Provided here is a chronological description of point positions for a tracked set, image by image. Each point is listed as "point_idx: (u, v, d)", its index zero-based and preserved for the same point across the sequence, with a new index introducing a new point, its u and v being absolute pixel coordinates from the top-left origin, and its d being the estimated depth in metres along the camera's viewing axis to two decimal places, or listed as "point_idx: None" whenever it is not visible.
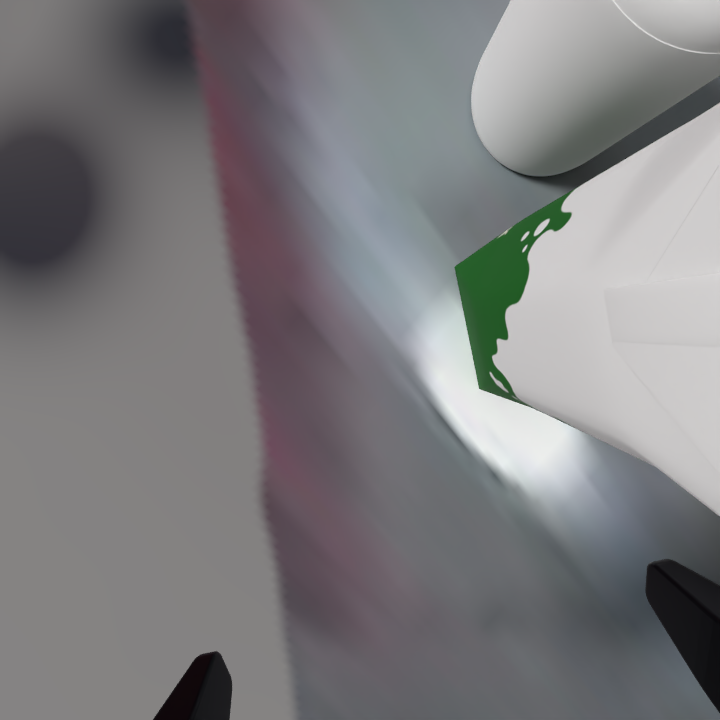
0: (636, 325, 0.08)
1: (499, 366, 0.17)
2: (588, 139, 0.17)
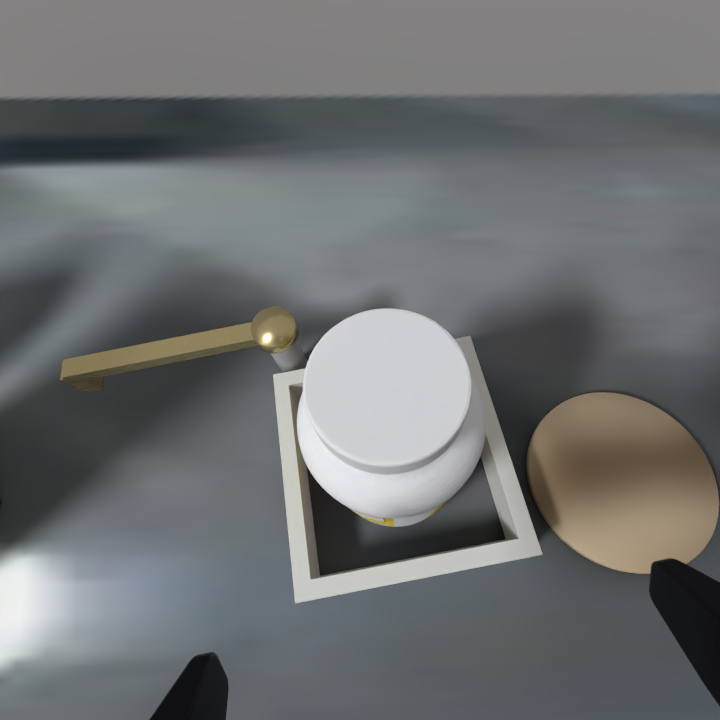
0: None
1: None
2: None
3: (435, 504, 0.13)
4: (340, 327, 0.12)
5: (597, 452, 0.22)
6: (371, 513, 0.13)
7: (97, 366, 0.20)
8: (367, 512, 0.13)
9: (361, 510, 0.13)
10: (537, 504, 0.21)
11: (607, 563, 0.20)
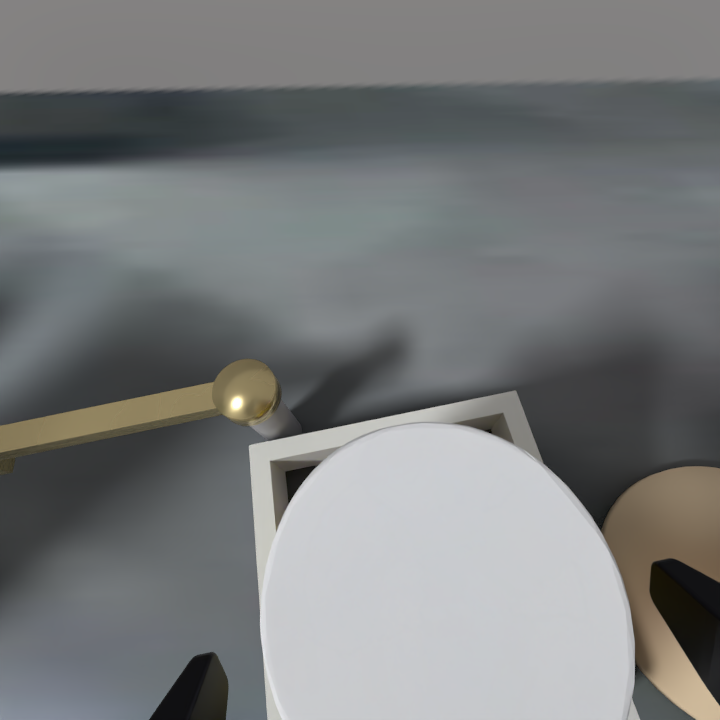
0: None
1: None
2: None
3: None
4: (339, 464, 0.06)
5: (699, 555, 0.16)
6: None
7: None
8: None
9: None
10: None
11: None
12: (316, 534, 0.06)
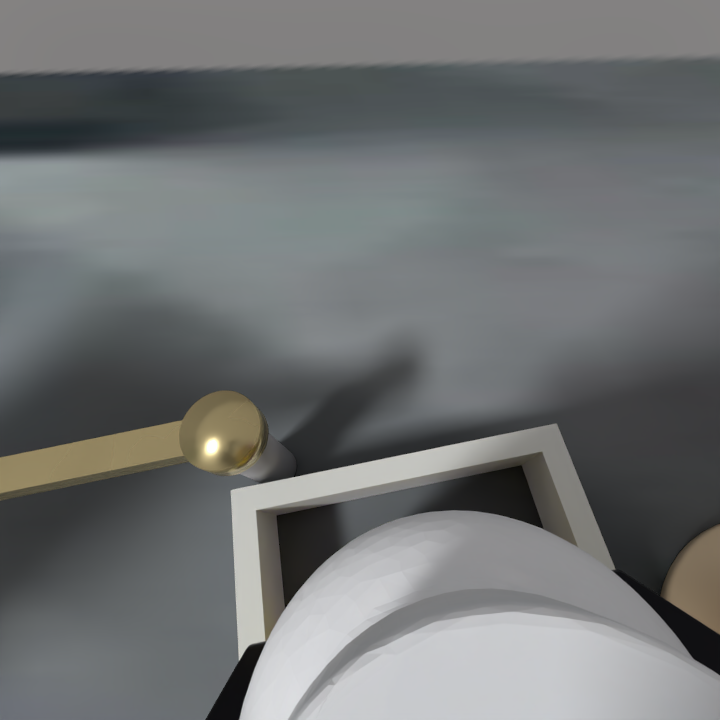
0: None
1: None
2: None
3: None
4: (348, 709, 0.03)
5: None
6: None
7: None
8: None
9: None
10: None
11: None
12: None
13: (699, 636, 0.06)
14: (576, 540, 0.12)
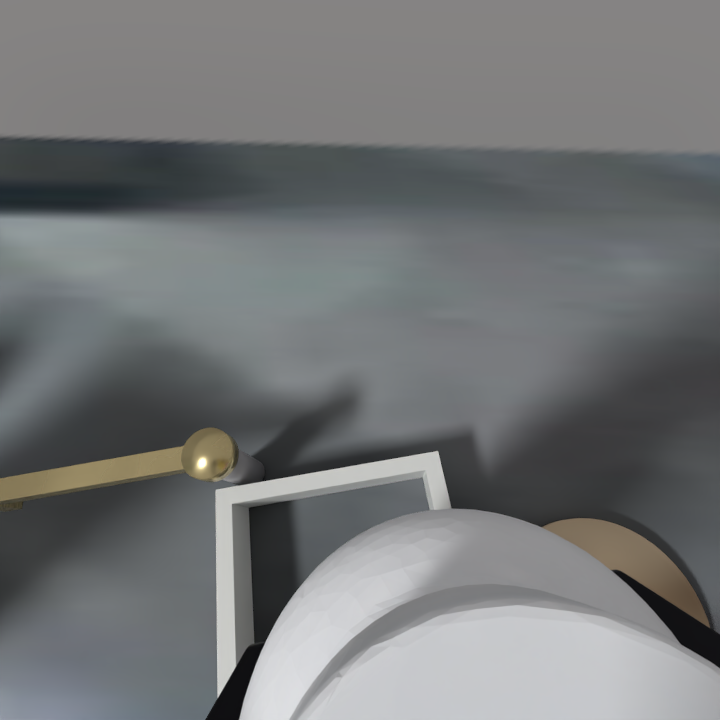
0: None
1: None
2: None
3: None
4: (356, 701, 0.03)
5: None
6: None
7: (7, 494, 0.18)
8: None
9: None
10: None
11: None
12: None
13: (699, 636, 0.06)
14: None
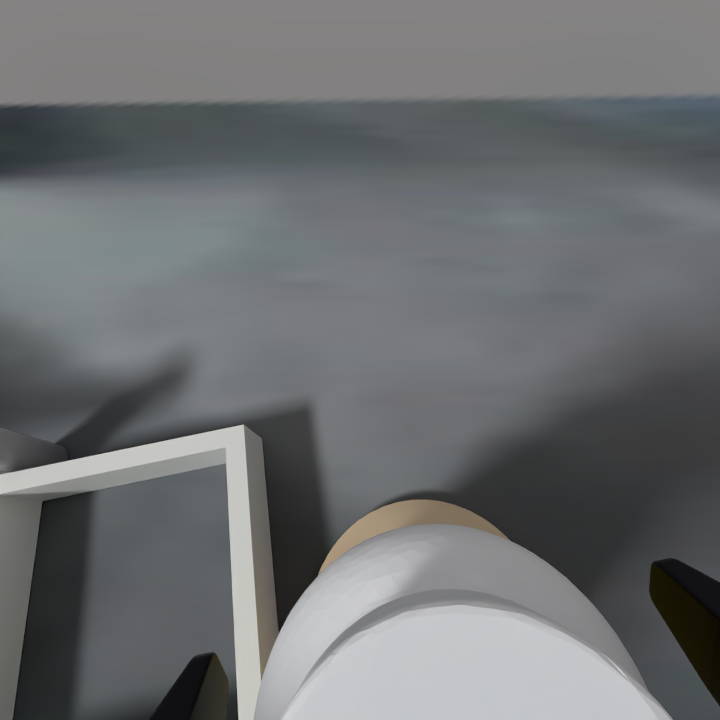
0: None
1: None
2: None
3: None
4: (345, 671, 0.04)
5: None
6: None
7: None
8: None
9: None
10: None
11: None
12: None
13: None
14: (229, 517, 0.16)
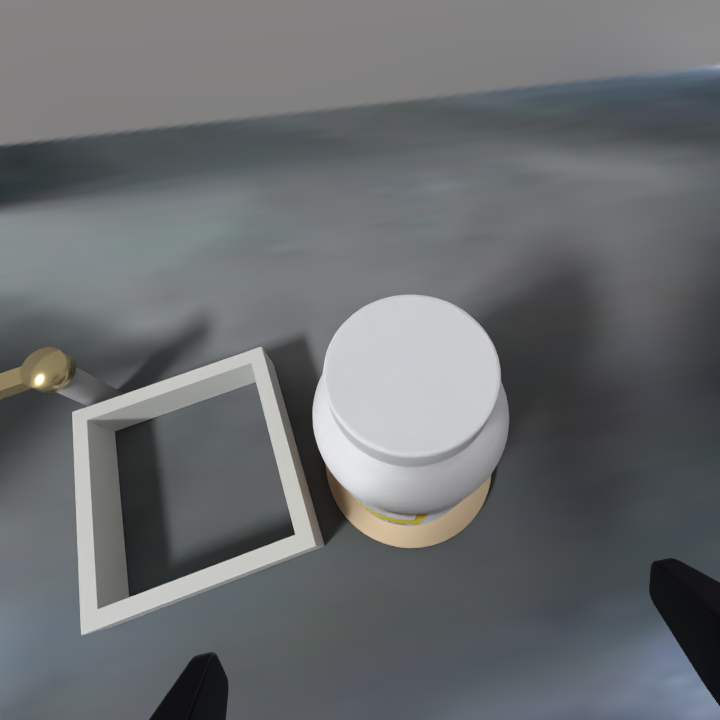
0: None
1: None
2: None
3: (472, 490, 0.13)
4: (352, 321, 0.11)
5: None
6: (408, 510, 0.12)
7: None
8: (404, 510, 0.13)
9: (397, 509, 0.13)
10: (334, 497, 0.22)
11: (391, 543, 0.21)
12: (346, 352, 0.11)
13: None
14: (262, 405, 0.22)
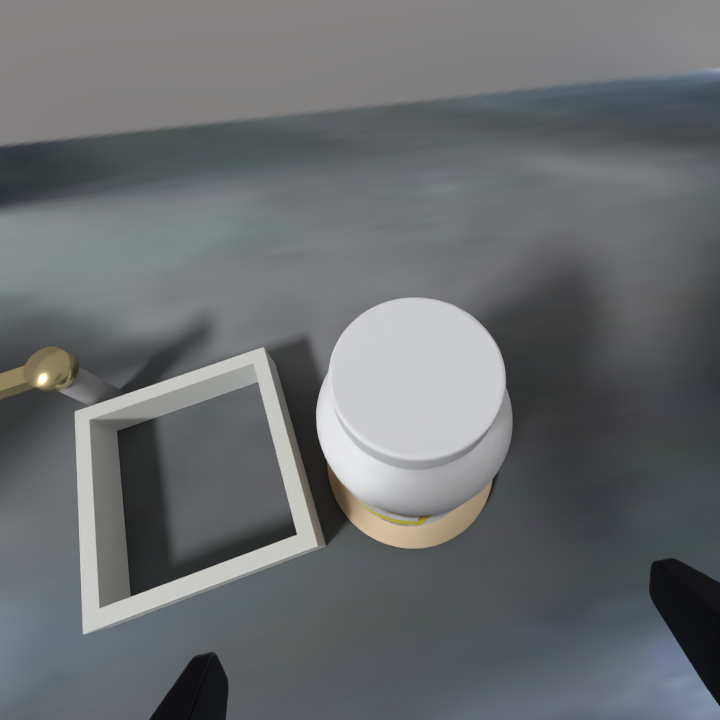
0: None
1: None
2: None
3: (476, 493, 0.13)
4: (357, 323, 0.12)
5: None
6: (412, 512, 0.13)
7: None
8: (407, 512, 0.13)
9: (401, 511, 0.13)
10: None
11: (393, 543, 0.21)
12: (351, 355, 0.11)
13: None
14: (265, 405, 0.22)
